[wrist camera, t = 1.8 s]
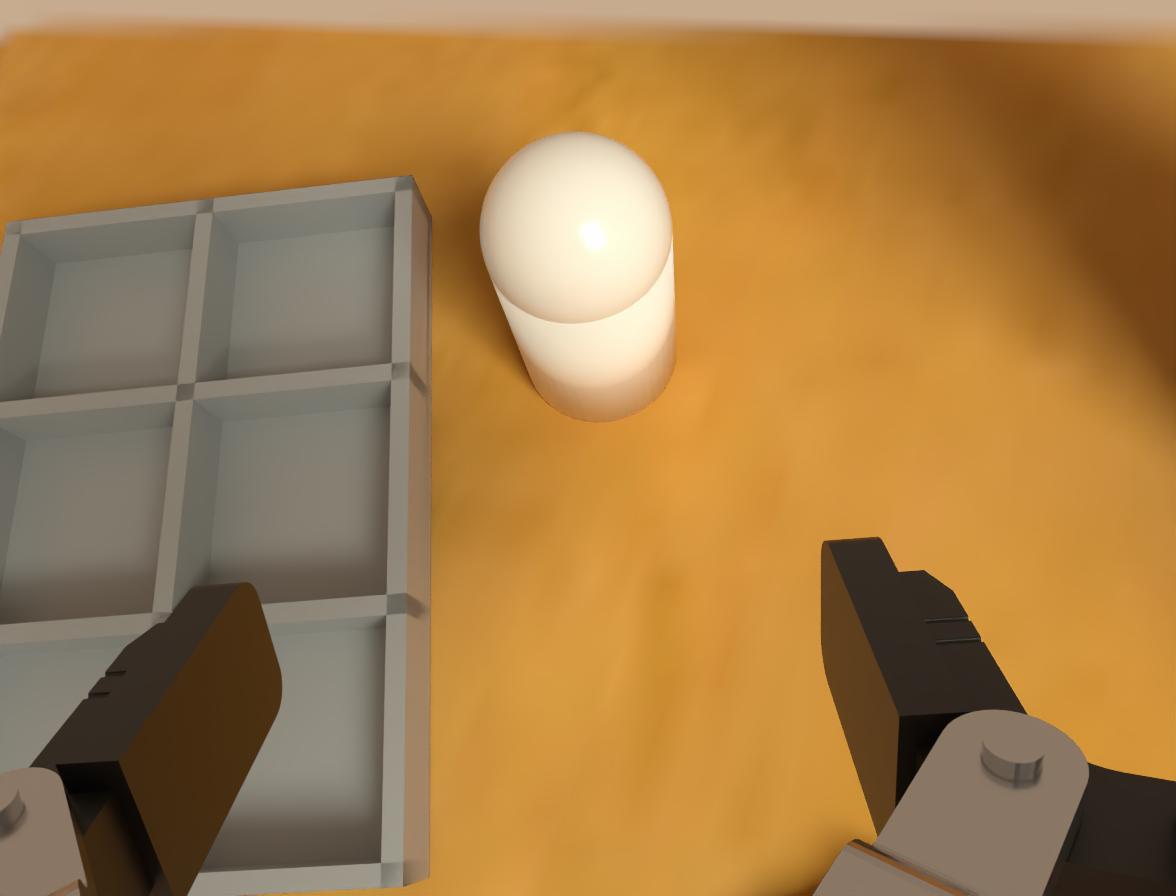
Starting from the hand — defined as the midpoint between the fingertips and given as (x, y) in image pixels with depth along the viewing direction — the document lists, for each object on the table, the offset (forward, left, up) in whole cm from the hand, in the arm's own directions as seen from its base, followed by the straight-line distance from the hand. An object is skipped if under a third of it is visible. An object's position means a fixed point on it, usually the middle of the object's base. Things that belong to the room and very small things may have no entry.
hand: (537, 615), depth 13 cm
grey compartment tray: (+13, -7, -16) cm, 22 cm away
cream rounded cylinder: (0, -12, -16) cm, 20 cm away
